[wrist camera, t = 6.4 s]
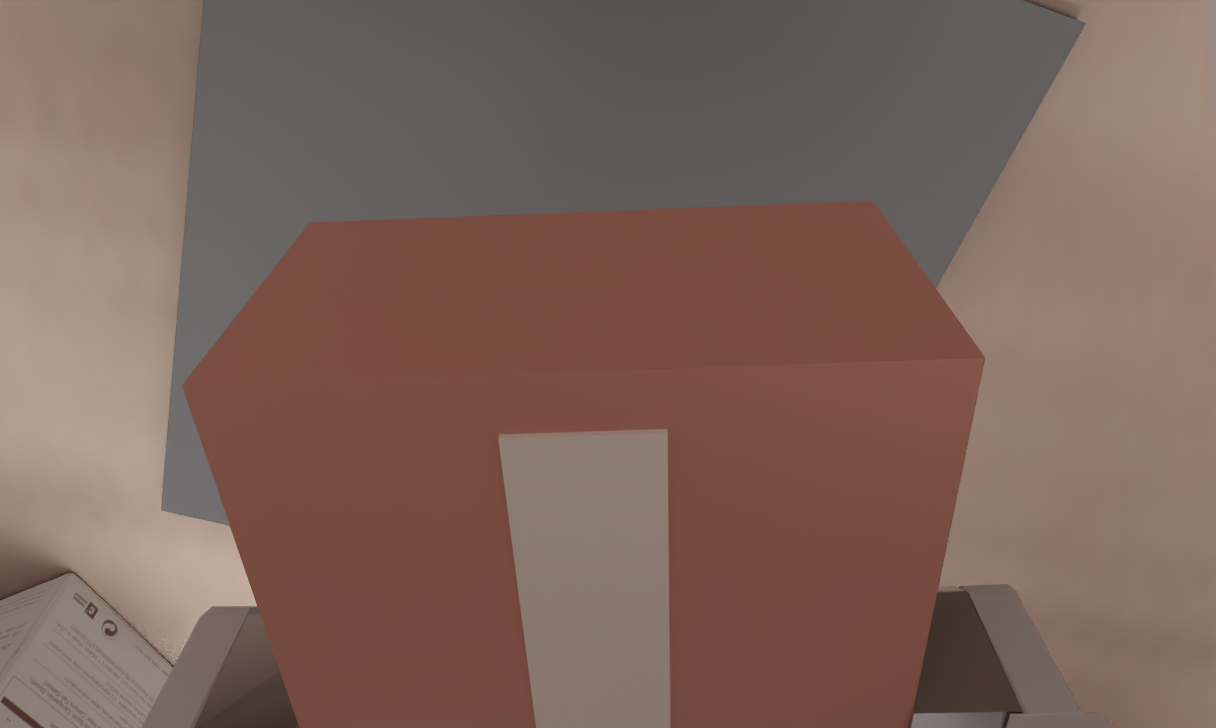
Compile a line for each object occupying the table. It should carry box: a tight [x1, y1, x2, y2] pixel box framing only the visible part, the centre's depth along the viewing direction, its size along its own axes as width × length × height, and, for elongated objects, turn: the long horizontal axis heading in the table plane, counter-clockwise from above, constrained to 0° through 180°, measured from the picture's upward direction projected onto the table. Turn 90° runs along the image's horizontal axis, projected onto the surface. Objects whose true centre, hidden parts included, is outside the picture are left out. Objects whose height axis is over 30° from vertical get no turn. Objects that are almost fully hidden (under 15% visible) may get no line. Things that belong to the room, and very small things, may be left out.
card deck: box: [182, 201, 985, 728], centre depth 10 cm, size 9×6×3 cm, turn 2°
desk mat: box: [161, 0, 1086, 525], centre depth 25 cm, size 20×22×1 cm
